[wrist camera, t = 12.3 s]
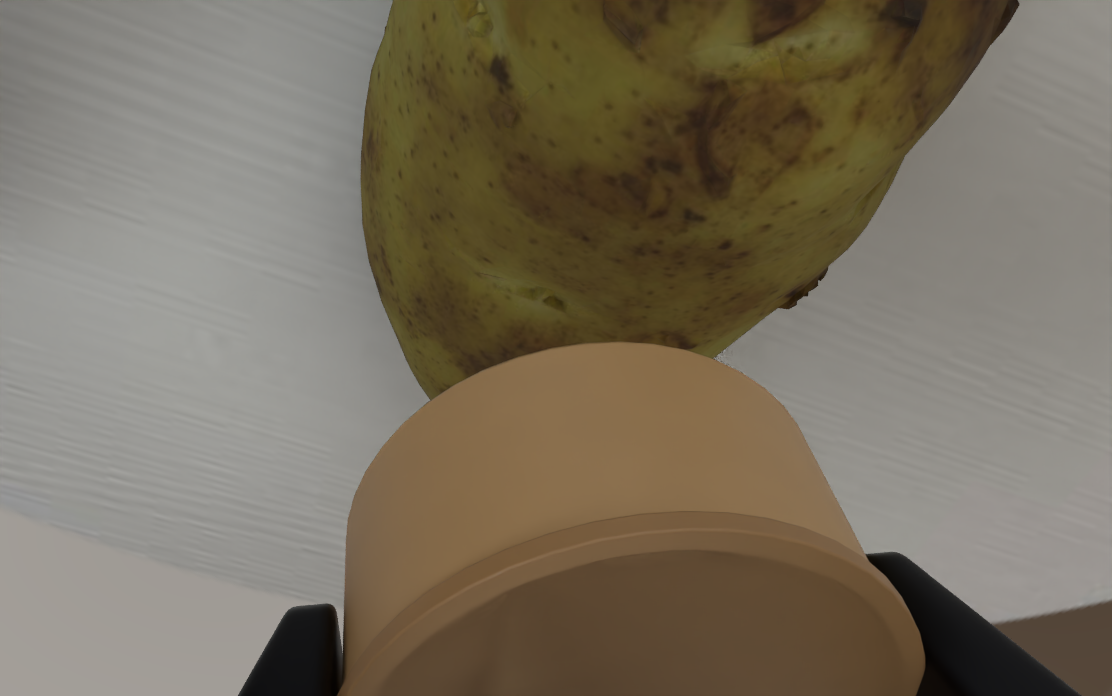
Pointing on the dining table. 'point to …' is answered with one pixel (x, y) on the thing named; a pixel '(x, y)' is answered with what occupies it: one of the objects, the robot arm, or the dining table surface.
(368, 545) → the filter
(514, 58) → the potato
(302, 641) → the robot arm
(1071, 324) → the dining table surface
